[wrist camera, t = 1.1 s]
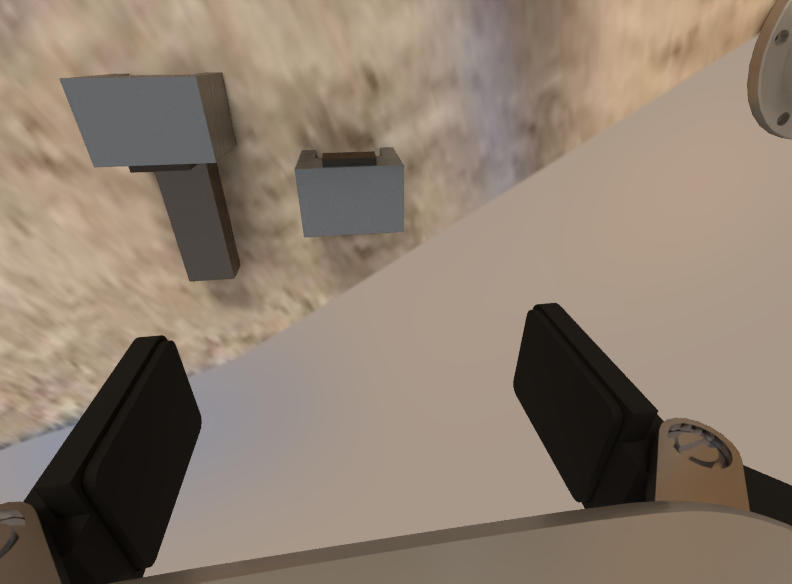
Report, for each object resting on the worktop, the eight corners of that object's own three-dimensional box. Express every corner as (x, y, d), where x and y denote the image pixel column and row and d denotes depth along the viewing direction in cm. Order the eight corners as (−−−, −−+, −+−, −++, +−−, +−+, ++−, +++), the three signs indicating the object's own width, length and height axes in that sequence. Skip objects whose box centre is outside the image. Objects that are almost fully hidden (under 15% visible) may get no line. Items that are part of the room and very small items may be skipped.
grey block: (393, 141, 26) (403, 157, 22) (393, 205, 28) (403, 231, 24) (300, 143, 26) (293, 161, 21) (309, 209, 28) (304, 237, 24)
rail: (221, 72, 23) (195, 76, 19) (261, 264, 30) (248, 299, 25) (112, 74, 22) (59, 78, 18) (176, 269, 29) (148, 306, 25)
